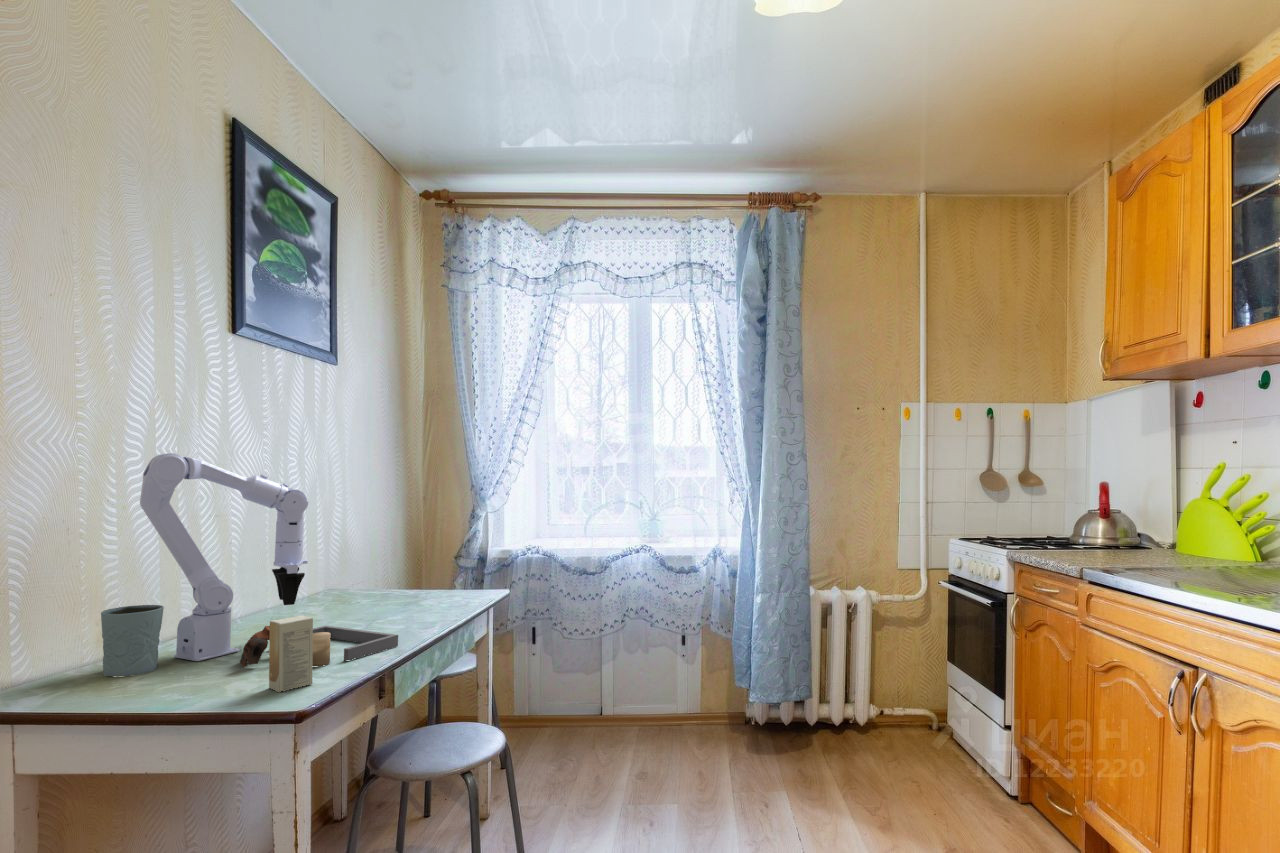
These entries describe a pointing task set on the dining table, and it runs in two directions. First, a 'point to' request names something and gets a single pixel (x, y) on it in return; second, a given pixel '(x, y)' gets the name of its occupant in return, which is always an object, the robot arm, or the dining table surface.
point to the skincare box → (290, 653)
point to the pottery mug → (255, 647)
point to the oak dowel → (321, 648)
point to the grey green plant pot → (131, 639)
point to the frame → (360, 640)
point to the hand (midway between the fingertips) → (286, 602)
